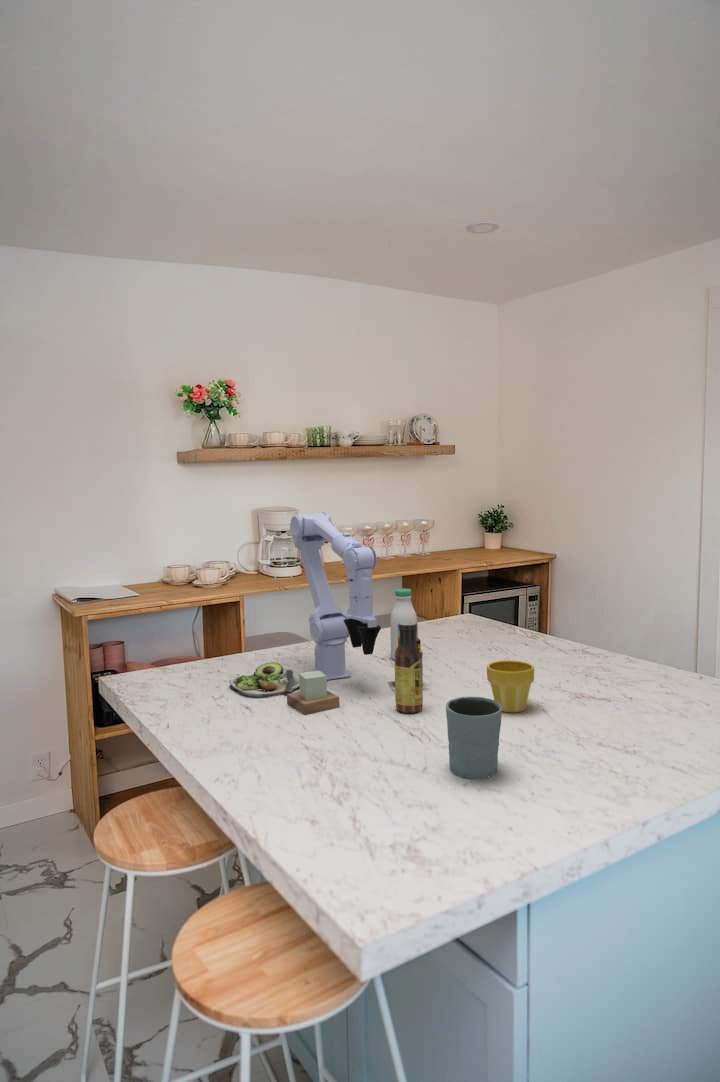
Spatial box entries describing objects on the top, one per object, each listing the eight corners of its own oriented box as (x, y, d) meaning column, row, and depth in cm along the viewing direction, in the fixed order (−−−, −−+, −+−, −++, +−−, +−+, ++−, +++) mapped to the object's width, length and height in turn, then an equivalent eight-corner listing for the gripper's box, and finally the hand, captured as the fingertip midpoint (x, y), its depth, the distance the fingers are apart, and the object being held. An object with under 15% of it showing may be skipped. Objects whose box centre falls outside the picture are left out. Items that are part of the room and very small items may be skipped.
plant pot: (496, 698, 171) (496, 657, 170) (540, 704, 165) (540, 662, 164) (480, 711, 162) (480, 668, 161) (525, 718, 157) (525, 674, 156)
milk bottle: (388, 661, 204) (386, 591, 202) (394, 654, 212) (393, 586, 209) (414, 663, 202) (413, 592, 200) (420, 655, 209) (419, 587, 207)
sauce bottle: (421, 715, 161) (419, 627, 158) (393, 713, 162) (391, 626, 160) (424, 705, 167) (423, 620, 165) (397, 704, 168) (395, 620, 166)
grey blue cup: (465, 753, 139) (464, 692, 138) (512, 766, 133) (512, 702, 131) (435, 772, 131) (434, 707, 130) (485, 786, 125) (484, 719, 123)
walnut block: (287, 706, 170) (286, 694, 170) (320, 699, 175) (320, 687, 175) (305, 717, 163) (304, 704, 162) (339, 709, 167) (339, 696, 167)
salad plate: (319, 692, 180) (319, 674, 179) (252, 706, 171) (252, 687, 170) (286, 673, 196) (285, 657, 196) (223, 685, 187) (222, 668, 187)
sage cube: (299, 694, 170) (299, 673, 169) (320, 691, 172) (319, 670, 171) (306, 700, 165) (305, 679, 165) (327, 697, 167) (326, 675, 166)
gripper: (335, 592, 182) (337, 645, 184) (356, 602, 169) (358, 659, 170) (361, 590, 185) (363, 642, 186) (384, 599, 171) (385, 655, 173)
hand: (362, 650), depth 179 cm, fingers open, 7 cm apart
